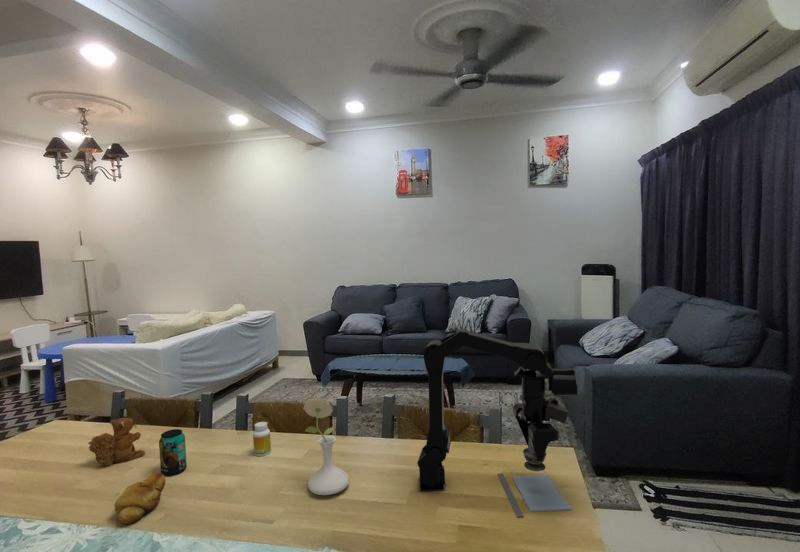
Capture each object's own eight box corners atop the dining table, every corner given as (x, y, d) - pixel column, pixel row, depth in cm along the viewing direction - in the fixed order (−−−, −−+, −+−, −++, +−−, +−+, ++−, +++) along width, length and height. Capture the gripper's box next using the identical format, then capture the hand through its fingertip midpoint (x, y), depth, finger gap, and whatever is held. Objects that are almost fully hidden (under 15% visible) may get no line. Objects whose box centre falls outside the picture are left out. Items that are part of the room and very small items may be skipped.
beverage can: (155, 474, 129) (153, 436, 128) (175, 464, 135) (173, 427, 134) (172, 478, 126) (169, 439, 125) (192, 467, 132) (189, 429, 132)
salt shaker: (550, 471, 108) (549, 424, 107) (527, 472, 108) (526, 426, 107) (541, 460, 114) (541, 416, 113) (520, 461, 114) (519, 417, 113)
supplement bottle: (268, 456, 138) (266, 427, 137) (251, 456, 138) (249, 427, 137) (273, 448, 143) (271, 420, 143) (257, 449, 143) (255, 421, 143)
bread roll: (139, 528, 103) (137, 495, 103) (100, 528, 103) (98, 496, 103) (170, 497, 116) (168, 469, 115) (135, 498, 116) (133, 469, 116)
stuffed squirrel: (148, 454, 143) (145, 416, 142) (100, 473, 131) (97, 431, 130) (132, 448, 148) (130, 411, 147) (86, 466, 136) (83, 425, 136)
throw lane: (517, 517, 101) (517, 516, 101) (497, 474, 121) (497, 473, 121) (574, 515, 101) (574, 513, 101) (545, 472, 121) (545, 471, 121)
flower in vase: (357, 481, 120) (353, 394, 119) (334, 503, 110) (330, 408, 109) (319, 473, 126) (315, 390, 124) (294, 493, 115) (289, 403, 114)
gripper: (580, 405, 101) (580, 470, 101) (551, 382, 119) (552, 436, 120) (533, 407, 100) (534, 471, 101) (511, 383, 119) (512, 438, 120)
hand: (534, 453), depth 111 cm, fingers closed on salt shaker, 8 cm apart
